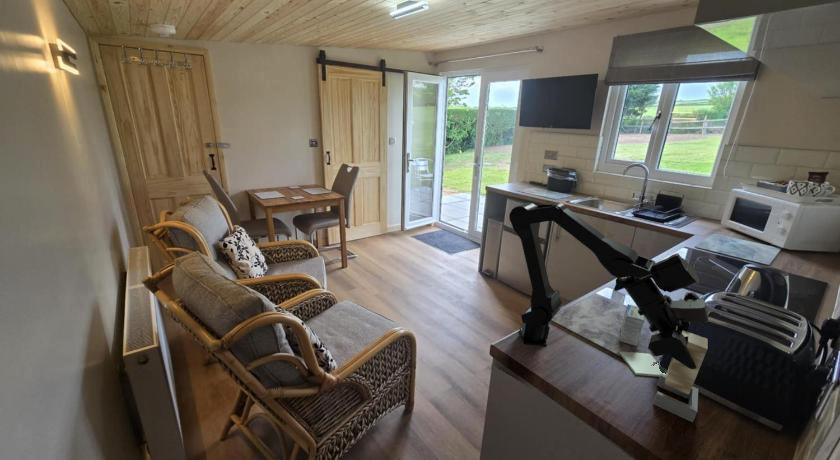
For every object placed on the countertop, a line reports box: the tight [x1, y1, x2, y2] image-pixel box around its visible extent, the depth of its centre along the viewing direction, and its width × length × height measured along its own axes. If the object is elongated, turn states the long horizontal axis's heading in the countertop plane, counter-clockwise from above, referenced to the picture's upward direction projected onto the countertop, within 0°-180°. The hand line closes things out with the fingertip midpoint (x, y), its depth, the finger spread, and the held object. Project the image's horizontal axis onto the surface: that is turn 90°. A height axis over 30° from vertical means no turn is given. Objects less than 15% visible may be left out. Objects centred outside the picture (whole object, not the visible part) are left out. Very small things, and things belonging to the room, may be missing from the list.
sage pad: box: [619, 351, 666, 377], centre depth 89 cm, size 8×8×1 cm
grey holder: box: [653, 374, 699, 423], centre depth 77 cm, size 7×8×3 cm
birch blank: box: [665, 330, 709, 394], centre depth 74 cm, size 4×4×12 cm
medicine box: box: [619, 303, 645, 347], centre depth 99 cm, size 8×4×9 cm, turn 148°
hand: (694, 362), depth 73 cm, fingers closed on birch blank, 4 cm apart
